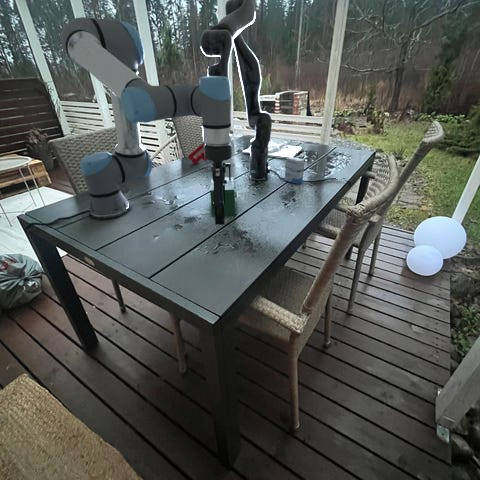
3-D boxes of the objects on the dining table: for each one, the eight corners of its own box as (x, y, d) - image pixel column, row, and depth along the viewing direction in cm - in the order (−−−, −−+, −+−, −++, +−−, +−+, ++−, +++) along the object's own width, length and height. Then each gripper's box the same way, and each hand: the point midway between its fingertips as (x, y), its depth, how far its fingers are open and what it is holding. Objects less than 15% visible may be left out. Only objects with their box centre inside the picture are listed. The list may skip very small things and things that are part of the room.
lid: (212, 180, 117) (210, 161, 113) (233, 179, 118) (233, 161, 113) (210, 192, 105) (208, 172, 101) (234, 192, 106) (233, 172, 101)
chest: (213, 202, 122) (211, 180, 117) (234, 201, 123) (233, 180, 117) (211, 216, 111) (210, 193, 105) (234, 215, 111) (234, 192, 106)
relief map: (291, 159, 177) (291, 151, 174) (243, 153, 190) (243, 145, 187) (302, 149, 197) (303, 142, 194) (258, 144, 211) (258, 137, 208)
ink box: (302, 181, 142) (305, 159, 136) (297, 184, 139) (300, 161, 133) (289, 177, 147) (291, 156, 141) (284, 180, 144) (285, 158, 138)
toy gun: (225, 158, 166) (210, 137, 162) (223, 160, 163) (207, 139, 159) (205, 174, 176) (191, 154, 172) (202, 176, 173) (188, 156, 169)
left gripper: (231, 156, 63) (233, 234, 74) (231, 132, 83) (232, 196, 95) (199, 157, 62) (205, 234, 74) (207, 132, 83) (211, 196, 95)
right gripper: (209, 97, 104) (212, 141, 113) (207, 101, 92) (210, 150, 101) (229, 97, 104) (230, 141, 113) (229, 101, 92) (230, 150, 101)
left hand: (220, 213), depth 85 cm, fingers open, 13 cm apart
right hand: (221, 145), depth 107 cm, fingers open, 8 cm apart
